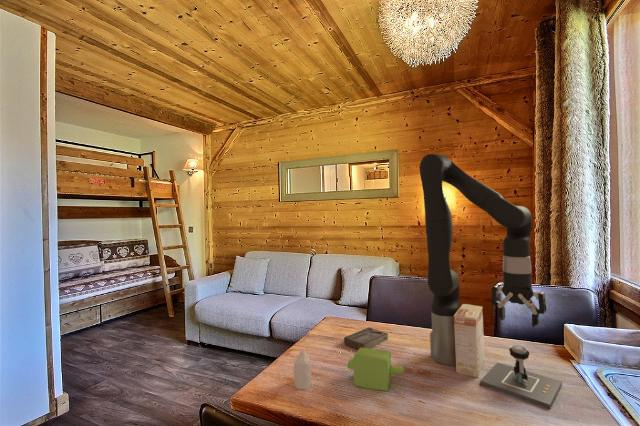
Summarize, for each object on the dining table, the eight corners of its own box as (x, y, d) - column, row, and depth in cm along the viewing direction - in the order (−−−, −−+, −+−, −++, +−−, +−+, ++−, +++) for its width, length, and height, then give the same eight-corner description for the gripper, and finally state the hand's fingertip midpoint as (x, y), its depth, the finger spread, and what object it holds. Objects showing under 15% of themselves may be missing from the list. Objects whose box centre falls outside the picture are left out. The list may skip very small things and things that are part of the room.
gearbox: (405, 379, 104) (405, 350, 105) (402, 394, 95) (402, 362, 95) (352, 370, 111) (352, 343, 111) (345, 384, 101) (344, 354, 102)
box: (343, 344, 132) (343, 337, 132) (368, 333, 144) (368, 326, 144) (363, 352, 124) (363, 344, 124) (388, 340, 136) (388, 332, 136)
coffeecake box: (464, 355, 119) (462, 303, 119) (485, 359, 115) (483, 306, 114) (455, 372, 106) (452, 314, 106) (478, 378, 102) (476, 318, 102)
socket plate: (480, 384, 99) (480, 380, 99) (497, 365, 110) (497, 362, 110) (550, 409, 86) (550, 404, 86) (562, 385, 97) (561, 381, 97)
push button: (535, 387, 94) (534, 354, 94) (515, 386, 95) (514, 353, 95) (526, 376, 100) (524, 344, 100) (507, 374, 101) (506, 343, 101)
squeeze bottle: (292, 345, 105) (308, 343, 106) (293, 381, 105) (310, 378, 106) (293, 352, 99) (311, 350, 100) (295, 390, 99) (312, 388, 100)
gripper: (487, 269, 100) (489, 320, 100) (541, 275, 90) (542, 332, 90) (495, 266, 105) (497, 314, 105) (547, 271, 95) (548, 325, 95)
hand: (518, 322), depth 98 cm, fingers open, 8 cm apart
